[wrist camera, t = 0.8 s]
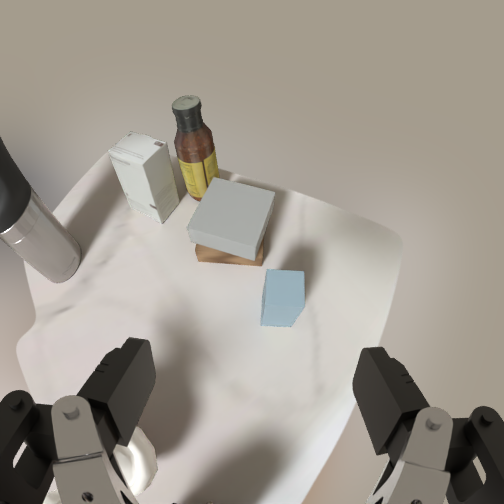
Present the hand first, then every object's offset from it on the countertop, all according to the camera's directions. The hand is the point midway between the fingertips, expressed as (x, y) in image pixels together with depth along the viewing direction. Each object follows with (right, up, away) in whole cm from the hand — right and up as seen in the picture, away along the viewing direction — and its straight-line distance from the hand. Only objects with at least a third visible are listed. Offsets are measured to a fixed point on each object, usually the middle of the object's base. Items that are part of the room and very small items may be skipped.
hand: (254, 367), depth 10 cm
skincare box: (-18, +13, +40) cm, 45 cm away
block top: (-3, +8, +33) cm, 35 cm away
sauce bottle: (-9, +15, +41) cm, 45 cm away
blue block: (+3, -5, +31) cm, 31 cm away
